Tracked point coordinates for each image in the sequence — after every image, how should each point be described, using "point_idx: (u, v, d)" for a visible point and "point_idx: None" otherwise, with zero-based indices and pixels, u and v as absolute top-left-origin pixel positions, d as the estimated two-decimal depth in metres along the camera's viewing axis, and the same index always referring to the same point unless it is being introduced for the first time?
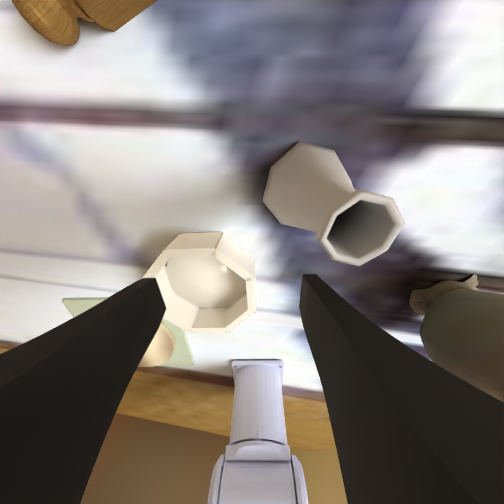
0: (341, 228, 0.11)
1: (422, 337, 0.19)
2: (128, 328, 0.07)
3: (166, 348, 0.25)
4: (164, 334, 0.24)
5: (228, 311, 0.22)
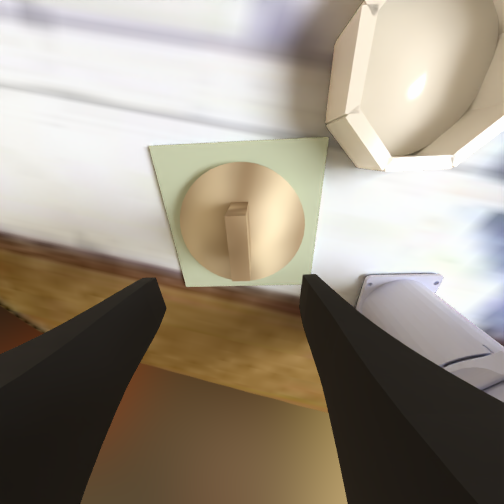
0: None
1: None
2: (128, 328, 0.07)
3: (292, 240, 0.17)
4: (300, 209, 0.15)
5: (425, 153, 0.13)
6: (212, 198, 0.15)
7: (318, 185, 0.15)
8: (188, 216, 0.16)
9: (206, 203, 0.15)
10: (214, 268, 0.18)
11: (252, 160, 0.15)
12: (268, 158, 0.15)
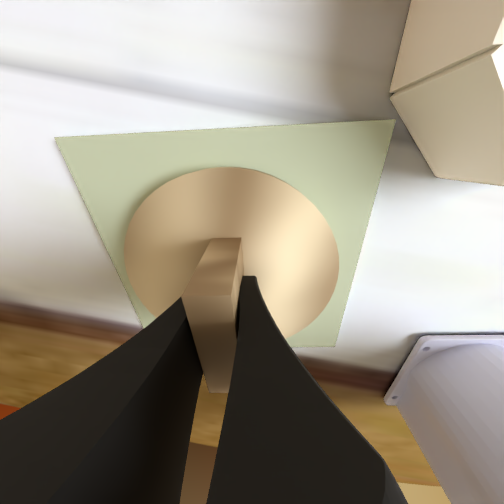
0: None
1: None
2: None
3: (315, 297, 0.10)
4: (333, 250, 0.09)
5: None
6: (176, 232, 0.08)
7: (364, 208, 0.09)
8: (138, 259, 0.09)
9: (167, 240, 0.09)
10: None
11: (249, 165, 0.08)
12: (278, 160, 0.08)
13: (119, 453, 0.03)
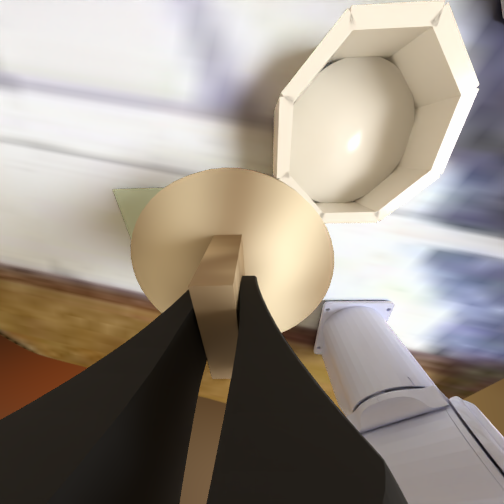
0: None
1: None
2: None
3: (311, 291, 0.11)
4: (328, 247, 0.09)
5: (361, 203, 0.15)
6: (181, 229, 0.09)
7: None
8: (144, 255, 0.10)
9: (172, 236, 0.09)
10: None
11: None
12: None
13: (119, 453, 0.03)
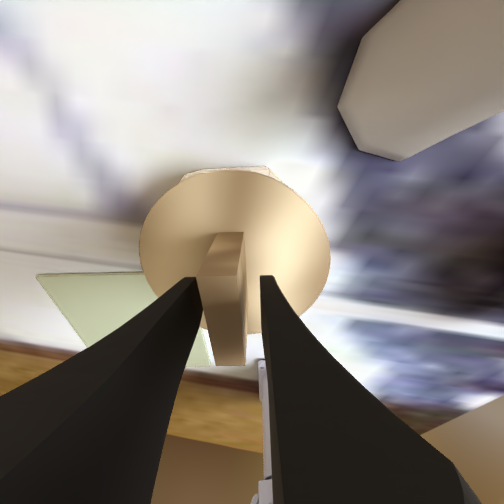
0: None
1: None
2: (179, 327, 0.07)
3: (309, 286, 0.11)
4: (325, 243, 0.10)
5: None
6: (186, 226, 0.10)
7: None
8: (152, 251, 0.10)
9: (178, 234, 0.10)
10: None
11: (127, 287, 0.17)
12: (140, 286, 0.17)
13: (72, 452, 0.03)
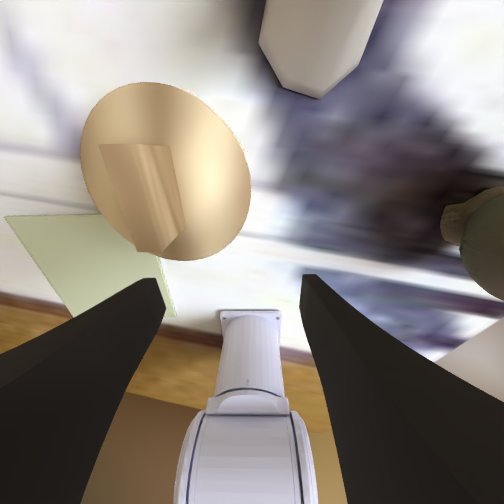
0: None
1: (464, 251, 0.14)
2: (127, 328, 0.07)
3: (236, 206, 0.13)
4: (241, 160, 0.11)
5: None
6: (119, 140, 0.11)
7: None
8: (93, 167, 0.12)
9: None
10: None
11: (90, 229, 0.18)
12: (102, 227, 0.18)
13: None
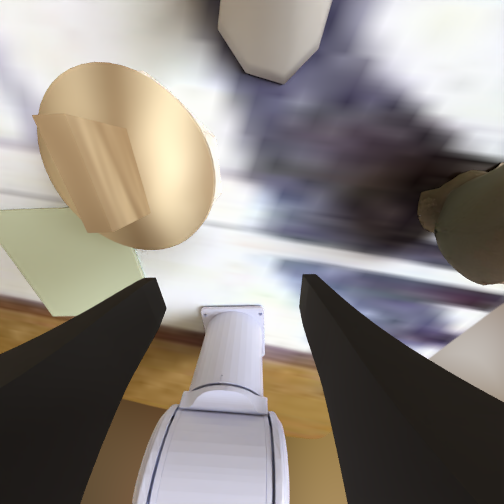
0: None
1: (438, 234, 0.14)
2: (128, 328, 0.07)
3: (199, 190, 0.13)
4: (200, 141, 0.11)
5: None
6: None
7: None
8: None
9: None
10: (107, 232, 0.14)
11: (64, 222, 0.18)
12: (75, 220, 0.18)
13: None
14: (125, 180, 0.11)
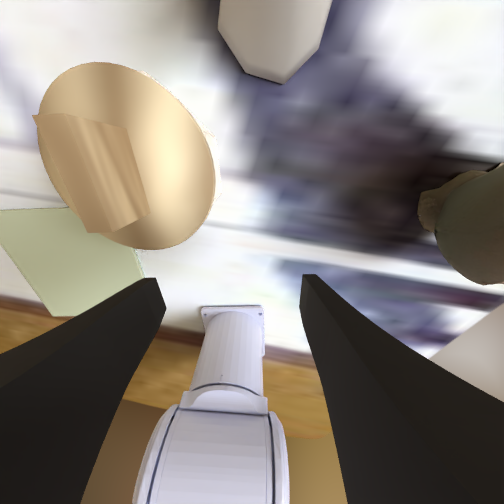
0: None
1: (438, 234, 0.14)
2: (128, 328, 0.07)
3: (199, 190, 0.13)
4: (200, 141, 0.11)
5: None
6: None
7: None
8: None
9: None
10: (107, 232, 0.14)
11: (64, 222, 0.18)
12: (75, 220, 0.18)
13: None
14: (125, 180, 0.11)
